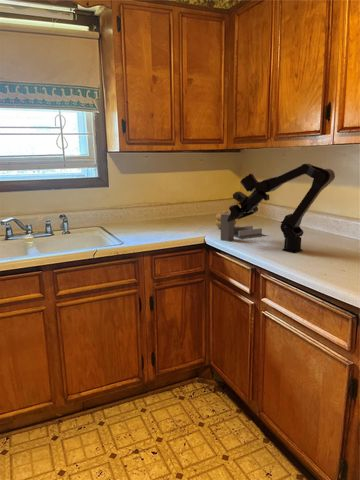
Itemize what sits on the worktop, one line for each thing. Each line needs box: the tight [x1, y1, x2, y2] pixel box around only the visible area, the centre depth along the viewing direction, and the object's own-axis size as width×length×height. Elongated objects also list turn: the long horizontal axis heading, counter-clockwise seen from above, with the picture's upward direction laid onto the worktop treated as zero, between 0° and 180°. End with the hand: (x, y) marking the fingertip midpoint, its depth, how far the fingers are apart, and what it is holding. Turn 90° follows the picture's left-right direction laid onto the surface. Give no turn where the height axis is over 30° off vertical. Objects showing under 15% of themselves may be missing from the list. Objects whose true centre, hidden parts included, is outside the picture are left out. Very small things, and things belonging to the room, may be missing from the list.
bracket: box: [234, 225, 266, 240], centre depth 198 cm, size 13×15×4 cm
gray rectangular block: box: [220, 212, 235, 242], centre depth 187 cm, size 5×5×13 cm
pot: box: [215, 210, 237, 229], centre depth 214 cm, size 12×12×10 cm
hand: (232, 219), depth 184 cm, fingers open, 9 cm apart
